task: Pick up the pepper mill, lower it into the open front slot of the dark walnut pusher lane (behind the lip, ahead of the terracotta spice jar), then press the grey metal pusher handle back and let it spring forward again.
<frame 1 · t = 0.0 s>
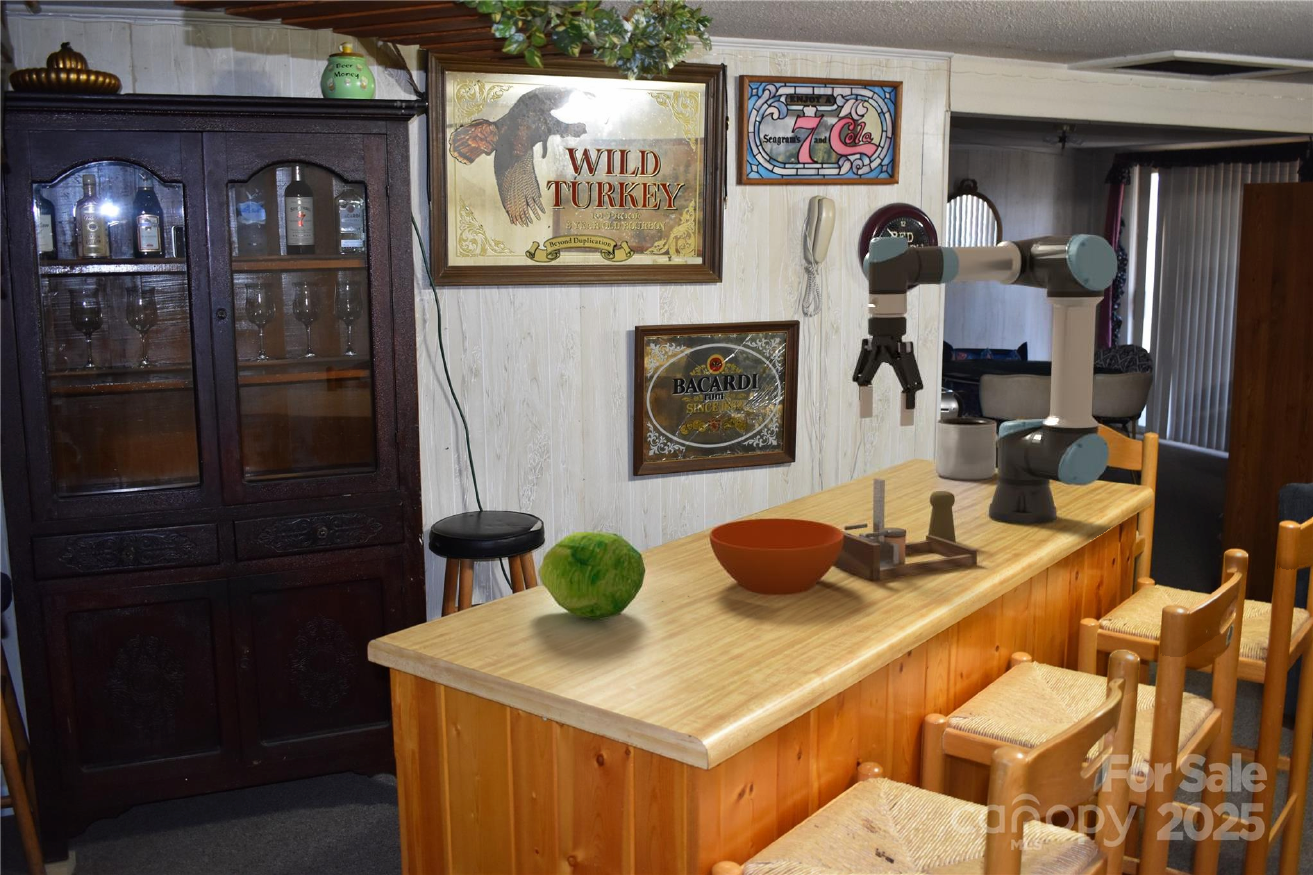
hand: (886, 421, 231), 28 cm above the bar counter, fingers open, 13 cm apart
pepper mill: (941, 542, 247), on the bar counter
lettuce: (589, 615, 200), on the bar counter
planter: (965, 477, 320), on the bar counter
lane: (903, 564, 229), on the bar counter
terracotta spice jar: (892, 566, 228), resting in lane
pusher: (878, 523, 225), point 9 cm above the bar counter, slide at 0.0 cm
bowl: (776, 585, 217), on the bar counter
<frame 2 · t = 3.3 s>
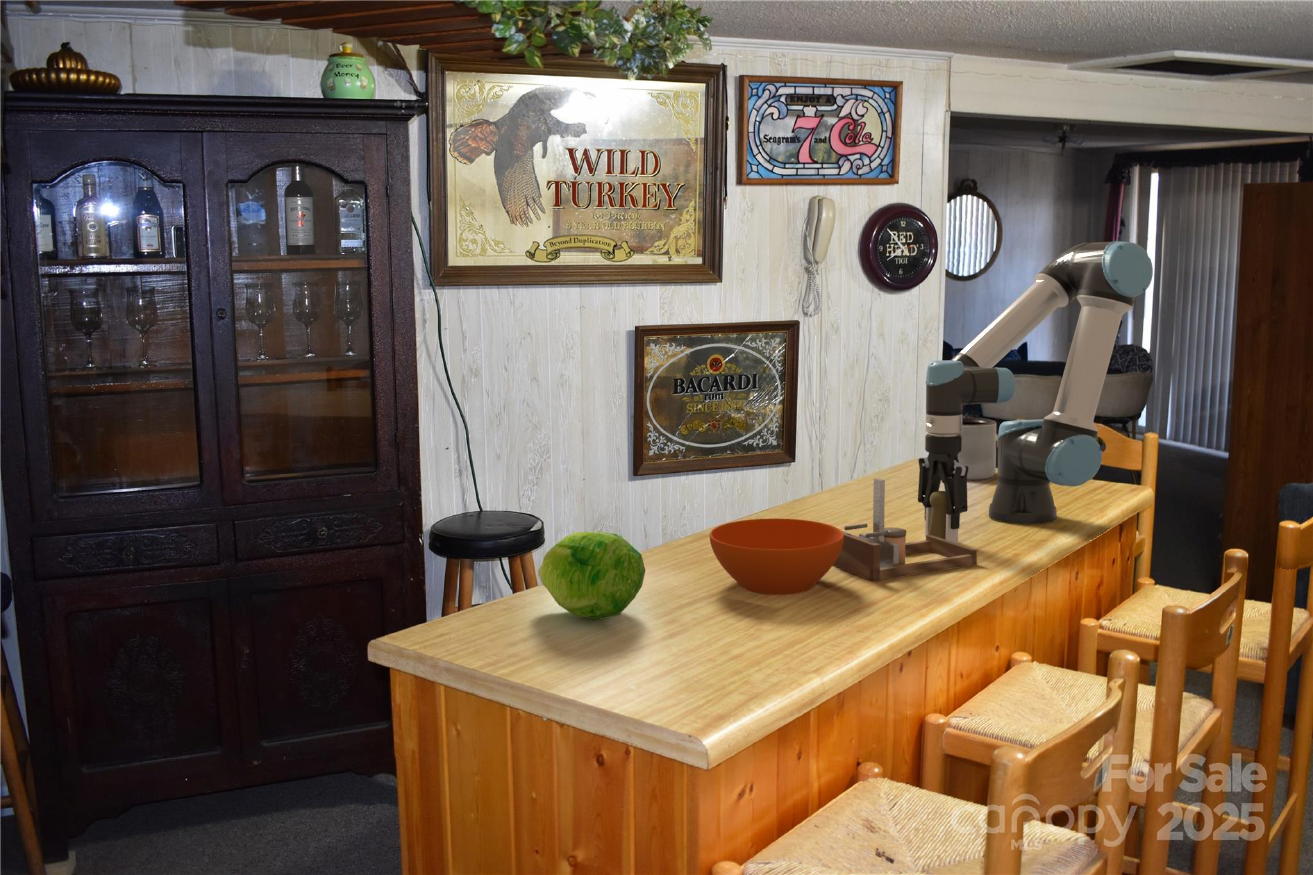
hand: (941, 539, 247), 0 cm above the bar counter, fingers closed on pepper mill, 6 cm apart
pepper mill: (941, 542, 247), on the bar counter, touching gripper
everything else where it was.
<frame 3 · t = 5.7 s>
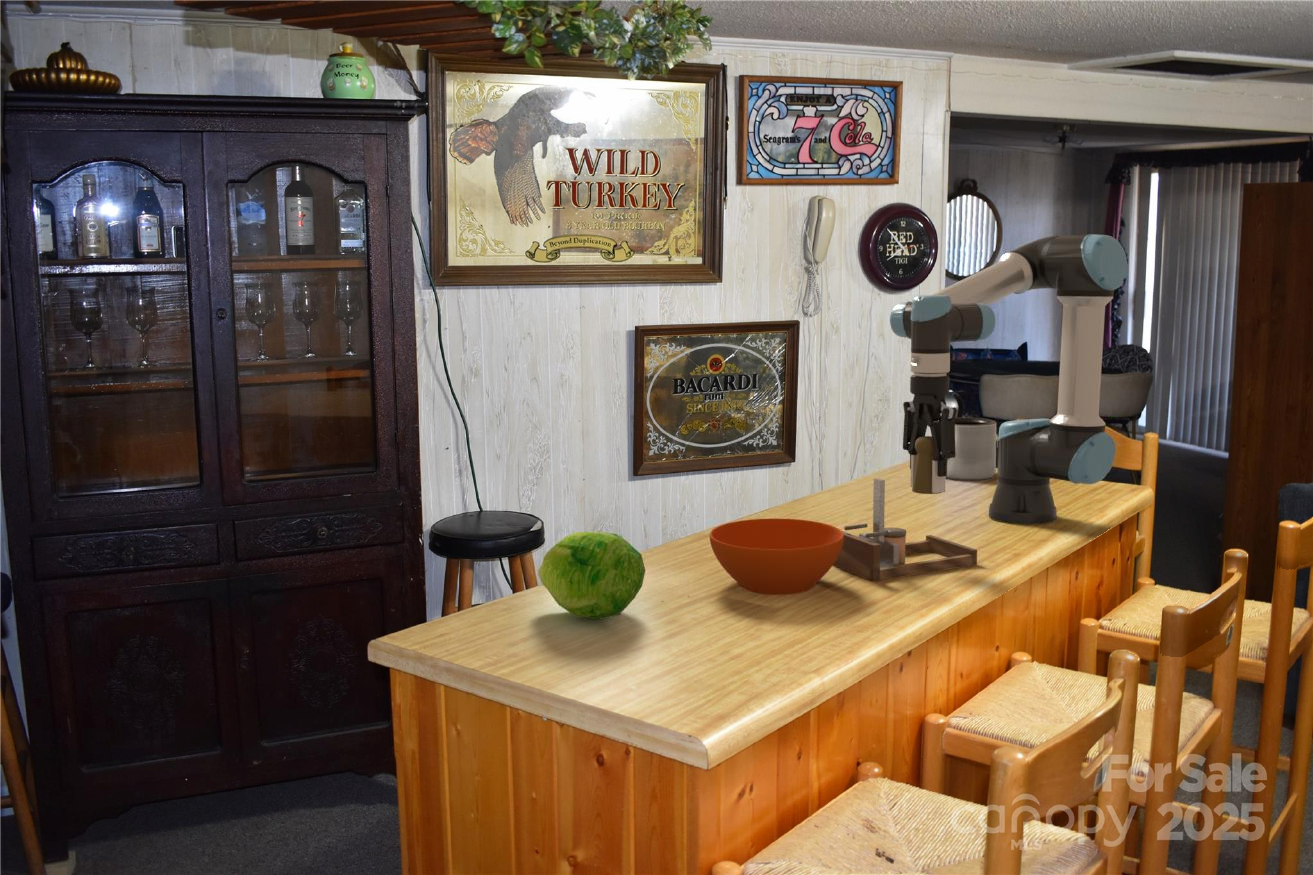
hand: (927, 489, 230), 15 cm above the bar counter, fingers closed on pepper mill, 6 cm apart
pepper mill: (927, 492, 230), point 14 cm above the bar counter, touching gripper
everything else where it was.
when the fingers open (3 cm above the bar counter, at t = 8.1 s): pepper mill drops 2 cm, resting in lane.
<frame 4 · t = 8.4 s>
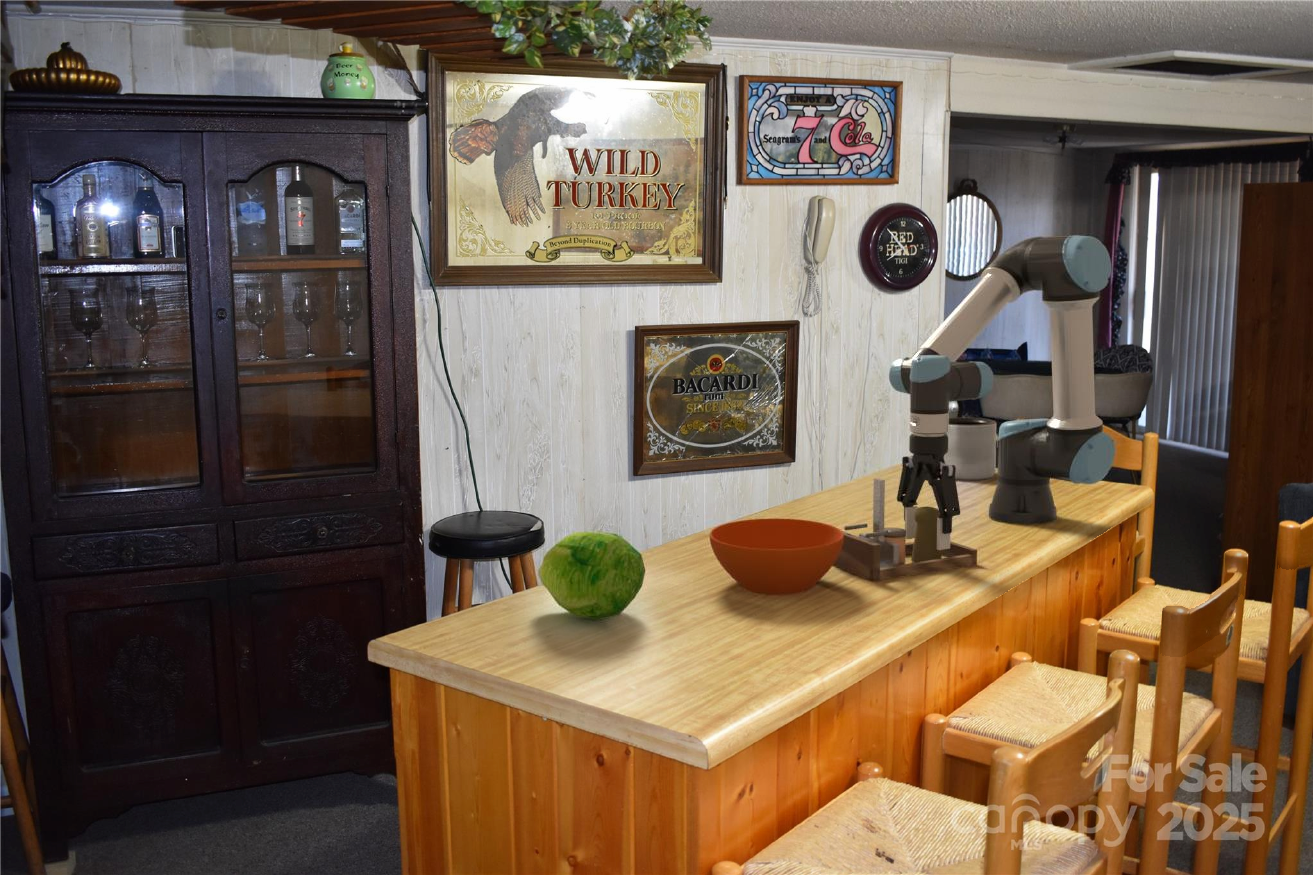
hand: (926, 543, 231), 4 cm above the bar counter, fingers open, 9 cm apart
pepper mill: (926, 561, 232), resting in lane
everything else where it was.
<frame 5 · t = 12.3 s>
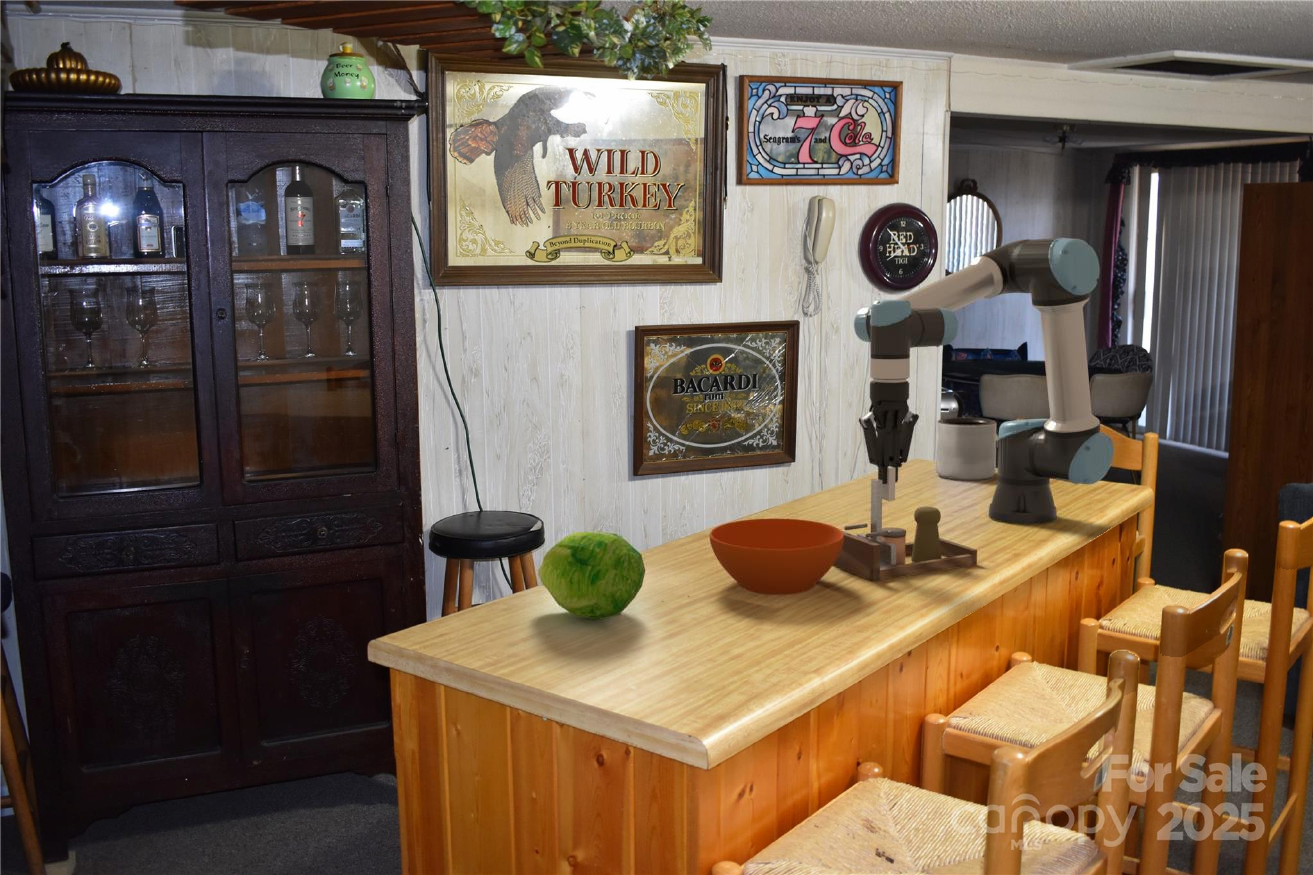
hand: (887, 499, 226), 14 cm above the bar counter, fingers closed
pusher: (876, 523, 225), point 9 cm above the bar counter, slide at 0.6 cm, touching gripper
everything else where it was.
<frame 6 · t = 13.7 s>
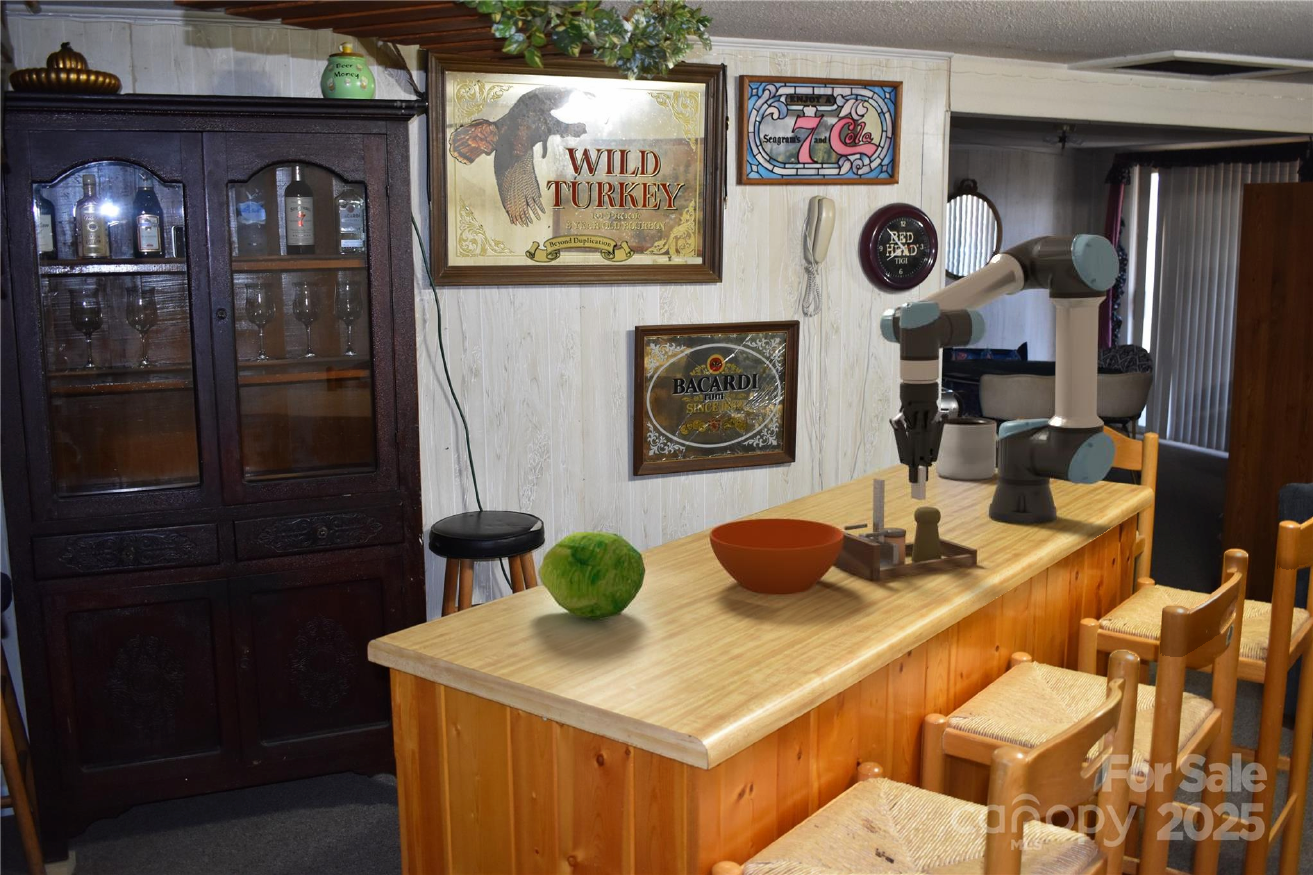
hand: (918, 498, 229), 13 cm above the bar counter, fingers closed
pusher: (878, 523, 225), point 9 cm above the bar counter, slide at 0.1 cm
everything else where it was.
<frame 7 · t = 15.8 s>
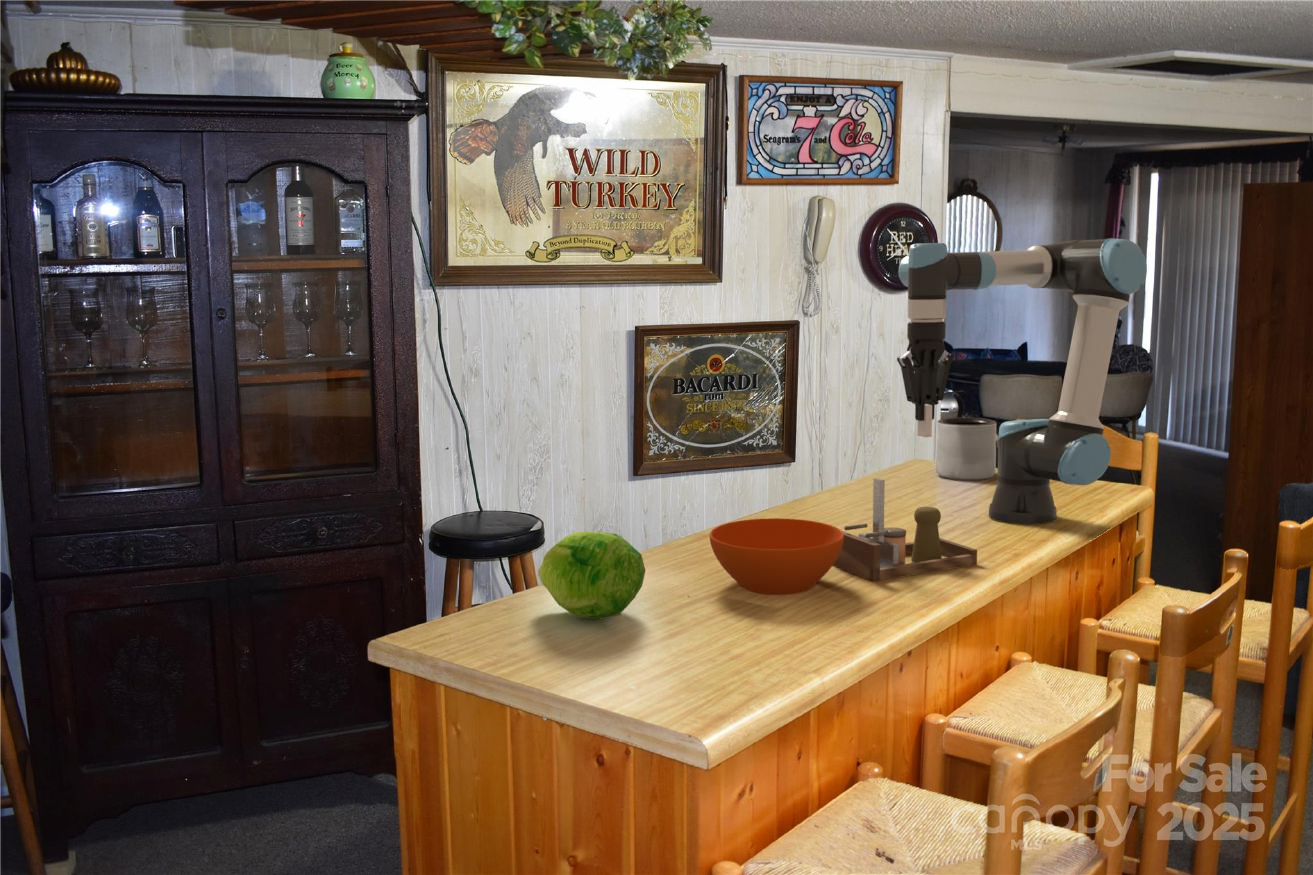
hand: (924, 436, 235), 24 cm above the bar counter, fingers closed
nothing on the bar counter moved.
at the end: pepper mill inside the target area (0.5 cm from its centre), resting in lane; pepper mill tilted 0°; pusher slide at 0.1 cm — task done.
